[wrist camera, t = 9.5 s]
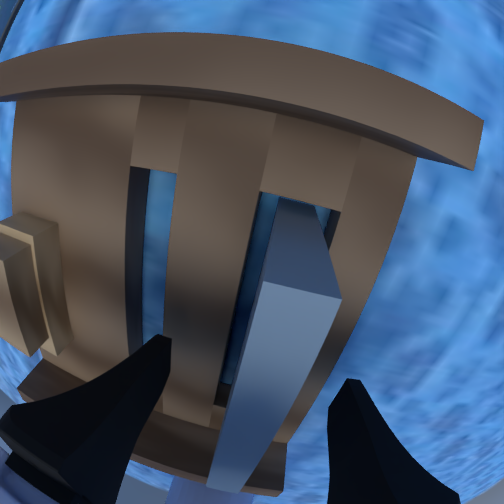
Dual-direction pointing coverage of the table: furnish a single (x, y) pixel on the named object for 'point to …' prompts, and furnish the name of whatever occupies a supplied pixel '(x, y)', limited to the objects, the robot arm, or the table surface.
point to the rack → (209, 201)
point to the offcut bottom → (45, 274)
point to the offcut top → (20, 297)
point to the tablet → (7, 17)
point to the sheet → (277, 342)
